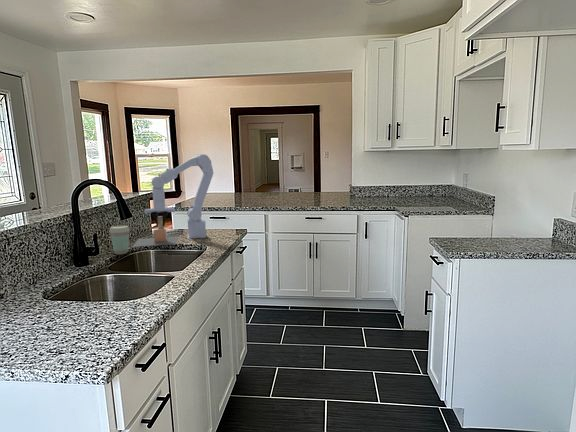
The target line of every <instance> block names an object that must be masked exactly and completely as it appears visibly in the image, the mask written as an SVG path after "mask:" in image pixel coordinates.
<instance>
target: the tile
mask: <svg viewBox="0 0 576 432" xmlns="http://www.w3.org/2000/svg"><path fill="white" fill-rule="evenodd" d="M167 237H168V235H167V228H164V229H158V228H156V229H153V238H154V242H159V241H167Z"/></svg>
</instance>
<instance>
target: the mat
mask: <svg viewBox="0 0 576 432" xmlns="http://www.w3.org/2000/svg"><path fill="white" fill-rule="evenodd" d="M178 239H179V236H167V241H159V242H154V237H148V238H138V239H137V240H136V241H135V242H134V244H132V246H131V247H132V248H135V247H138V248H139V247H150V246H151V247H152V246H168V245H169V246H170V245H176V244H177V241H178Z"/></svg>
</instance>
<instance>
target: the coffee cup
mask: <svg viewBox="0 0 576 432" xmlns="http://www.w3.org/2000/svg"><path fill="white" fill-rule="evenodd" d="M109 234H110V239H111V245H112V248H113V253H114V255H126V254H128V253H129V248H130V247H129V244H130V227H129V225H112V226H111V227H110V228H109Z"/></svg>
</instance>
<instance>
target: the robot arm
mask: <svg viewBox="0 0 576 432" xmlns="http://www.w3.org/2000/svg"><path fill="white" fill-rule="evenodd" d="M191 167H198V168H199V169H200V170H201V172H202V177H201V180H200V182H199V186H198V189H197V191H196V194H195V197H194V200H193V201H192V204H191V206H190V207H189V208H188V210H187V213H186V214H187V216H188V219H187V231H188V232H187V233H188V235H187V239H192V238H193V239H196V238H198V239H199V238H201V239H204V238H207V233H208V231H207V229H206V228H207V227H206V220H205V219H202V211H203V204H204V202H205V198H206V195H207V194H208V190H209V188H210V186H211V185H210V184H211V181H212V179H213V177H214V176H213V175H214V170H213V164H212V160H211V159H210V157H209V156H208V155H207V154H198V155H196V156H193V157H191V158H189V159H187V160H186V161H183V162H182V163H181V164H179V165H178V166H176V167H175V168H172V167H169V168H168V167H167V168H166V169H165V171H163V172H162V173H158V174H157V176H155V177H153V178H152V180H151V186H152V202H153V203H152V204H153V208H145V209H144V214H151V217H152V218H153V220H154V222H155V225H156V228H158V219H157V217H158V216H159V213H161V214H162V215H161V216H162V217H163V227H164V228H165V226H166V219H167V216H168V214H169V213H175V212H176V210H175V208H174V207H166V198H165V187H164V185H167V184H169V183H170V182H172V181H173V180H174V181H175V179H177V178H178V175H179V174H180V173H182V172H184V171H186V170H187V169H189V168H191Z"/></svg>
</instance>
